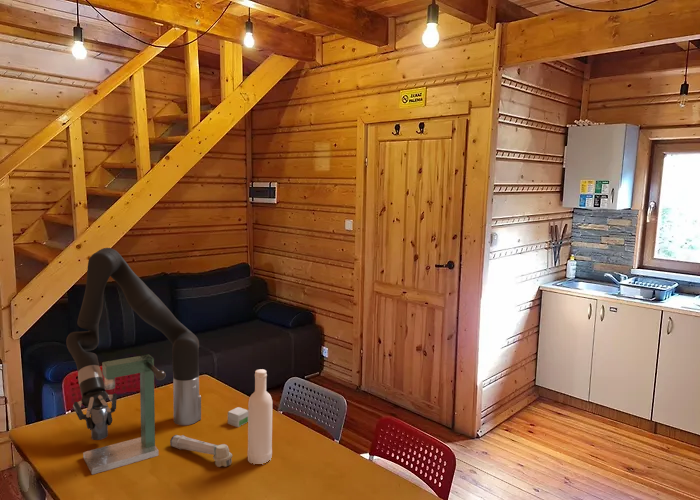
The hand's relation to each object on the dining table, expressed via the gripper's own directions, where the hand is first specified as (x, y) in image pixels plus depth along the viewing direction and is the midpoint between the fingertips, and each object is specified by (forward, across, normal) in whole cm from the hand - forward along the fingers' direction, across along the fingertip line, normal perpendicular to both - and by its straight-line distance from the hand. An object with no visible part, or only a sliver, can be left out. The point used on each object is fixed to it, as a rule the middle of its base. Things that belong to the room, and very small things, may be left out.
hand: (100, 426), depth 172 cm
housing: (+2, 0, +4) cm, 5 cm away
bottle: (+32, +40, -20) cm, 55 cm away
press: (+16, +4, -5) cm, 17 cm away
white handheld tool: (+23, +25, -11) cm, 36 cm away
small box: (+12, +46, 0) cm, 47 cm away
